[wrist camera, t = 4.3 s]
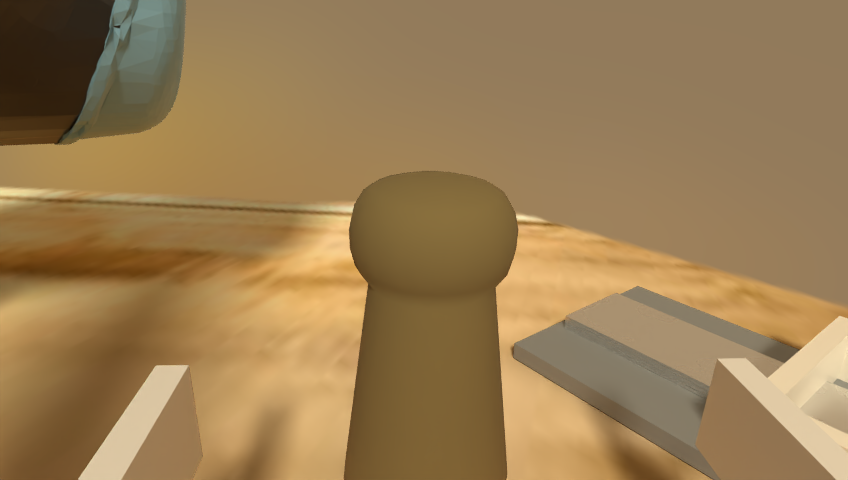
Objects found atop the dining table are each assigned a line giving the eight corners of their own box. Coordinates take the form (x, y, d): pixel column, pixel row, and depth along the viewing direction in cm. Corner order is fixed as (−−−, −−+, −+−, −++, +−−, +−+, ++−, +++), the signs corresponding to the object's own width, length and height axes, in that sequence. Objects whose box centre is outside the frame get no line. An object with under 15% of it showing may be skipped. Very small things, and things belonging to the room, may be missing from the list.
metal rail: (564, 327, 29) (565, 315, 28) (614, 303, 31) (616, 292, 31) (1416, 762, 12) (1438, 742, 12) (1368, 632, 15) (1386, 614, 14)
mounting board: (513, 357, 27) (514, 343, 27) (635, 297, 34) (638, 286, 34) (1489, 951, 10) (1523, 931, 10) (1357, 596, 16) (1374, 576, 16)
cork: (434, 571, 17) (450, 227, 13) (309, 469, 20) (290, 177, 16) (538, 462, 21) (574, 179, 17) (419, 394, 24) (425, 148, 20)
